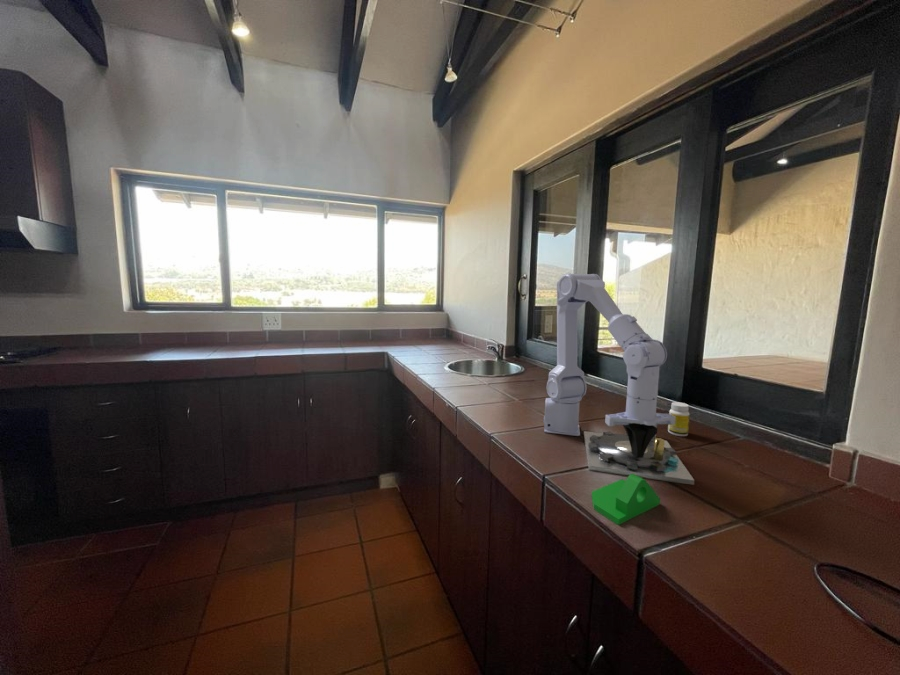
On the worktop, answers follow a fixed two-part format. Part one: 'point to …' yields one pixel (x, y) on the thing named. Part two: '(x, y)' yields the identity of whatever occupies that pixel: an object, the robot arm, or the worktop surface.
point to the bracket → (624, 499)
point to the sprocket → (621, 452)
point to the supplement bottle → (679, 419)
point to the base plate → (671, 473)
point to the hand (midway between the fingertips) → (637, 455)
